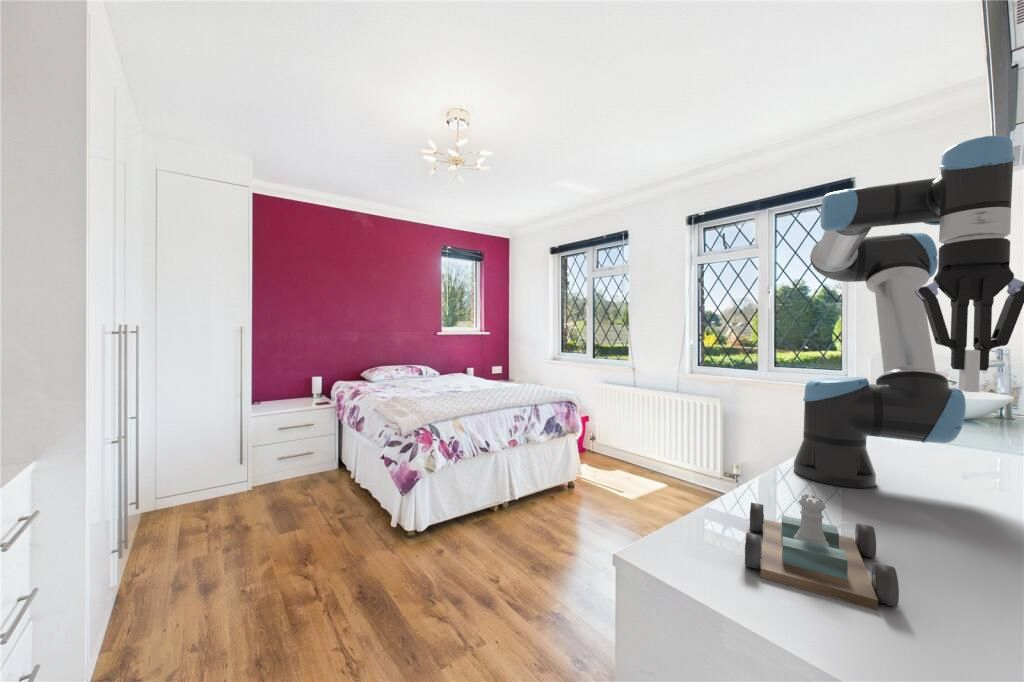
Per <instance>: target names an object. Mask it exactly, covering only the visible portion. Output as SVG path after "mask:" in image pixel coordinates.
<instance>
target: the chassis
mask: <svg viewBox="0 0 1024 682" xmlns="http://www.w3.org/2000/svg"><path fill="white" fill-rule="evenodd" d="M749 510H750V511H749V530H750V531H753V532H758V533H762V535H759V534H754V533H750V532H746V534H745V542H744V566H746V567H749V568H751V569H752V568H753V569H755V570H760V578H763V579H765V578H766V579H765V580H769V581H773V582H776V583H780V584H784V585H788V586H791V587H795V588H798V589H802V590H805V591H808V592H812V593H815V594H820V595H823V596H827V597H830V598H833V597H834V599H836V600H837V599H838V600H840V601H841V600H842V601H844V602H848V603H851V604H855V605H858V606H862V607H866V608H869V609H873V610H877V611H878V609H879V608H878V607H879V603H880V604H885V605H886V606H887V605H888V606H892V607H896V608H897V607H898V605H899V599H900V588H899V578H898V574H897V571H896V568H895V566H892V565H887V564H883V563H877V562H873V563H872V565H871V579H870V576H869V574H868V572H867V568H866V567H865V564H864V561H863V559H862V557H866V558H871V559H875V558H876V555H877V536H876V531H875V528H874V526H871V525H868V524H867V525H866V524H863V523H862V524H861V523H856V524H855V530H854V531H855V532H854V538H853V537H848V536H843V535H840V532H839V529H838V526H836V525H833V524H832V525H831V524H826V523H822V528H823V534H824V536H825V538H826V541H827V542H828V544H829V547H827V546H822V545H818V544H814V543H809V542H805V541H801V540H796V539H793V537H794V535H795V534H797V531H798V530H799V528H800V524H801V518H797V517H794V516H788V515H783V514H782V515H781V522H778V521H774V520H769V519H765V514H764V504H762V503H761V504H760V503H756V502H750V508H749Z"/></svg>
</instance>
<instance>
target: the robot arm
mask: <svg viewBox="0 0 1024 682" xmlns="http://www.w3.org/2000/svg"><path fill="white" fill-rule="evenodd" d="M1013 147H1014V146H1013V140H1012V139H1011V138H1010V137H1009V136H1005V135H1001V134H1000V135H998V134H997V135H987V136H981V137H975V138H971V139H969V140H964V141H961V142H959V143H956V144H954V145H952V146H950V147H949V148H947V149H946V150H945V151H944V152H943V153H942V155H941V163H940V166H939V170H940V175H939V177H934V178H926V179H919V180H912V181H903V182H897V183H895V182H894V183H890V184H889V183H888V184H883V185H882V184H880V185H873V186H865V187H858V188H857V187H856V188H844V189H843V190H837V191H832V192H829V193H826V194H825V195H824V196H823V198H822V201H821V206H820V227H821V229H822V230H823V231H824V232H823V235H822V237H821V239H820V240H819V241H818V242H816V243H815V245H814V246H813V248H812V250H811V252H810V256H809V257H810V259H809V260H810V264H811V265H812V267H813V269H814V270H815V271H816V272H817V273H819V274H820V275H821V276H823V277H825V278H828V279H830V280H833V281H838V282H843V283H844V282H846V283H850V282H851V283H855V282H856V283H857V282H865V285H866V286H865V287H866V288H867V289H868V291H870V292H871V293H874V296H875V304H876V314H877V324H878V332H879V340H880V341H879V342H880V343H879V344H880V350H881V359H882V369H883V374H881V375H879V376H877V378H876V381H875V384H870V381H869V380H868V378H867V377H862V376H856V377H855V376H853V377H852V376H851V377H850V376H841V377H839V376H836V377H824V378H815V379H811V380H809V381H808V382H806V384H805V387H804V396H803V400H802V401H803V402H804V408H803V437H802V442H801V444H800V446H799V448H798V451H797V454H796V456H795V458H794V461H793V471H794V473H796V474H797V475H799V476H801V477H803V478H805V479H808V480H811V481H814V482H819V483H822V484H827V485H832V486H837V487H844V488H851V489H852V488H854V489H855V488H856V489H863V488H864V489H865V488H866V489H867V488H872V487H875V486H876V484H877V480H876V479H877V478H876V477H877V476H876V475H877V474H876V472H875V469H874V466H873V464H872V461H871V458H870V455H869V452H868V450H867V437H876V438H886V439H894V440H895V439H896V440H905V441H913V442H921V443H925V444H926V443H937V444H948V443H951V442H953V441H954V440H956V439H957V438H958V436H959V434H960V433H961V431H962V427H963V425H964V421H965V417H966V411H967V408H966V407H967V406H966V403H967V402H966V397H965V394H964V392H966V393H967V392H968V393H980V371H986V372H987V371H988V369H989V368H990V351H991V350H993V349H994V348H998V347H999V348H1000V347H1005V346H1007V345H1008V344H1009V342H1010V339H1011V338H1012V337H1011V336H1012V335H1013V332H1014V329H1015V326H1016V324H1017V322H1018V319H1019V317H1020V315H1021V312H1022V310H1023V306H1024V281H1023V280H1020V279H1017V278H1015V274H1014V272H1013V271H1012V269H1011V267H1010V262H1011V240H1010V239H1008V238H1007V237H1008V236H1010V235H1011V222H1012V199H1013V198H1012V196H1013V177H1014V176H1013V174H1014V161H1015V160H1016V157H1015V156H1014V148H1013ZM919 223H924V224H926V225H932V226H939V235H938V236H939V237H938V242H939V243H940V244H941V246H940V247H939V248H938V250H937V246H936V243H935V241H934V240H933V238H932V237H931V236H930V235H928V234H927V233H924V232H923V233H922V232H911V233H910V232H902V233H899V234H889V235H888V234H886V235H877V236H876V235H875V236H867V235H868V234H869V232H870V231H871V229H872V228H874V227H875V228H877V227H886V226H896V225H897V226H898V225H908V224H909V225H910V224H919ZM937 257H938V258H937ZM936 271H937V273H936ZM935 274H936V275H935ZM934 275H935V276H934ZM932 277H934V278H933V281H932V282H930V283H928V282H929V281H930V278H932ZM927 283H928V284H927ZM1005 287H1007V290H1006V293H1007V294H1008V296H1007V297H1006V299H1005V302H1004V304H1003V307H1002V308H1001V312H1000V314H999V317H998V319H997V322H996V324H995V327H994V329H993V332H992V321H993V320H992V319H993V318H992V317H993V305H994V300H995V297H996V296H997V295H999V294H1000V293H1001V292H1002V291H1003V289H1004V288H1005ZM938 288H939V290H940V291H941V292H942V293H943V294H945V296H946V297H948V299H950V308H951V310H950V311H951V314H950V315H951V316H950V335H949V332H948V331H949V330H948V328H947V324H946V322H945V318H944V315H943V312H942V309H941V306H940V302H939V299H938V297H937V295H938V294H939V290H938ZM970 301H972V302H973V303H972V306H973V307H974V308H973V310H974V311H973V342H972V343H973V345H972V346H973V348H974V349H966V348H967V346H968V344H967V343H968V342H967V341H968V322H969V321H968V318H969V317H968V316H969V314H968V313H969V305H970ZM929 326H930V327H929ZM929 328H930V329H929ZM930 330H931V332H932V336H933V340H934V342H935V344H936V345H939V346H943V347H947V348H948V349H950V352H951V353H950V367H951V369H952V370H958V374H959V375H958V388H954V387H952V388H950V387H949V381H948V378H947V377H946V376H945V375H943V374H941V373H939V372H937V370H936V363H935V359H934V352H933V345H932V340H931V334H930Z"/></svg>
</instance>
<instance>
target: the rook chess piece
mask: <svg viewBox="0 0 1024 682" xmlns="http://www.w3.org/2000/svg"><path fill="white" fill-rule="evenodd" d="M798 503H799V505H800V506H801V510H800V511H799V512H800V516H801V518H800V519H801V524H800V528H799V530H798V531H797V534H795V535H794V537H793V539H796V540H801V541H805V542H809V543H814V544H818V545H822V546H827V547H829V544H828V542H827V541H826V538H825V536H824V534H823V528H822V524H823V520H824V515H823V511H824V510H825V509H826V507H827V506H826V505H825V504H824V499H823V498H822V497H820V496H816V495H814V494H812V495H811V497H810V495H809V494H807V493H804V494H802V495H801V498H800V499H799V500H798Z"/></svg>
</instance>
